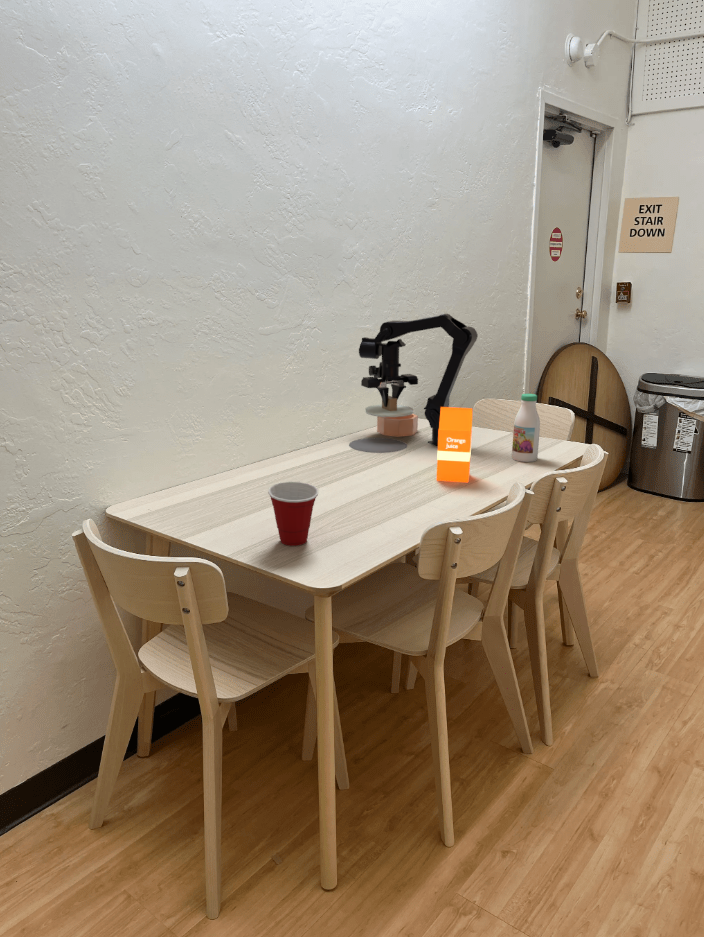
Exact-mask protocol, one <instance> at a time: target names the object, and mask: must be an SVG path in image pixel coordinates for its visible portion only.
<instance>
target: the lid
mask: <svg viewBox="0 0 704 937" xmlns="http://www.w3.org/2000/svg"><path fill="white" fill-rule="evenodd" d="M365 413H366V414H367V415H370V416H373V417H377V416H378V417H403V416H408V415H411V414H414V408H412V406H411V407H410V406H408V405H404V404H403V405H402V404H398V400H397V398H394V397H392V395H388V404H387V407H385V406H384V403H383V400H382V399H381V404H374V405H369V406H367V407H365Z"/></svg>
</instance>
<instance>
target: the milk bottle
mask: <svg viewBox="0 0 704 937" xmlns="http://www.w3.org/2000/svg"><path fill="white" fill-rule="evenodd" d="M537 400H538V394H534V393H522V394H521V396H520V402H521V406H520V408H519V410H518V412H517V413H516V416H515V418H514V424H513V432H512V435H513V436H512V445H511V446H512V447H511V459H513V460H514V461H517V462H524V463H531V462H536V461H537V460H538V455H539V445H540V444H539V442H540V432H541V420H540V416H539V413H538V410H537V406H536V405H537V403H538V402H537Z"/></svg>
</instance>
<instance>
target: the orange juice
mask: <svg viewBox="0 0 704 937" xmlns="http://www.w3.org/2000/svg"><path fill="white" fill-rule="evenodd" d="M472 429H473V407H472V408H471V407H470V408H469V407H453V406H452V407H451V406H449V407H441V411H440V422H439V431H438V447H437V454H436V455H437V456H436V480H437V481H438V482H439V481H440V482H454V483H469V480H470V470H471V468H470V467H471V455H472V454H471V452H472V438H473V437H472V435H473V434H472V433H473V430H472Z"/></svg>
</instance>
